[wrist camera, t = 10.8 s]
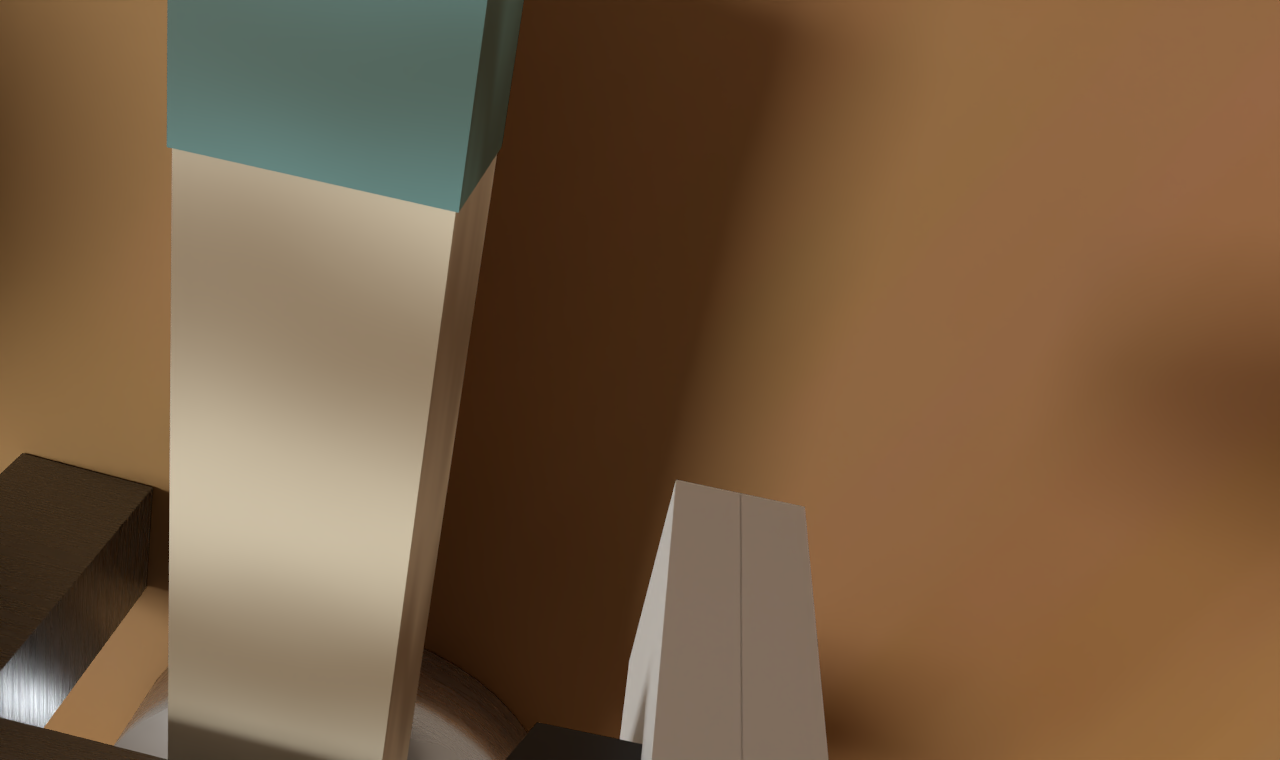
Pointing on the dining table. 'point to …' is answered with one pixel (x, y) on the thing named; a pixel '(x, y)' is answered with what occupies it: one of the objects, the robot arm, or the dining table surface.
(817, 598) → the dining table surface
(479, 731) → the pin plate
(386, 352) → the link
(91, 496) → the keeper
